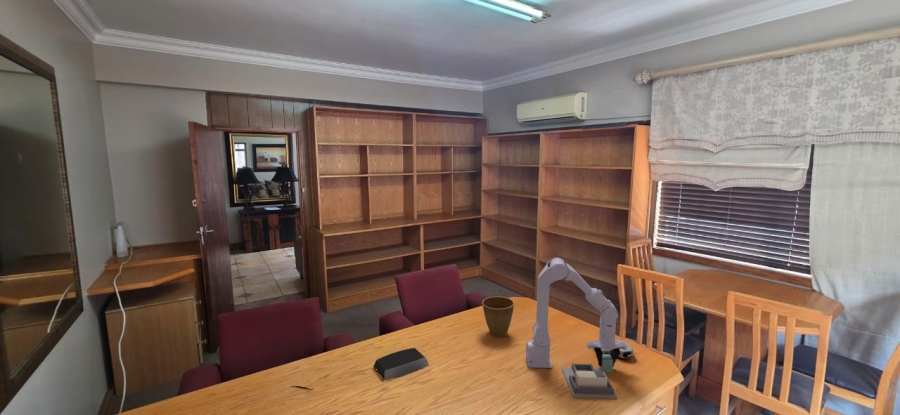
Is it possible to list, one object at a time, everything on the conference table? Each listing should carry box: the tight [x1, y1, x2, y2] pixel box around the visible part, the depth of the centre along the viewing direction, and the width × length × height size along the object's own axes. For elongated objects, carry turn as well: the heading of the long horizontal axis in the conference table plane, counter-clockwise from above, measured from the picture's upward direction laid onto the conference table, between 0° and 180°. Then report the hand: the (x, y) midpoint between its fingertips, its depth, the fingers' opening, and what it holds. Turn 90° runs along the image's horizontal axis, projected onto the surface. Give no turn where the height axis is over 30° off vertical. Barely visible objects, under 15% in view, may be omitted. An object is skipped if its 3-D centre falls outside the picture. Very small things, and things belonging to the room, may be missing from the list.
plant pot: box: [481, 296, 515, 339], centre depth 174 cm, size 15×15×16 cm
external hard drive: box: [373, 347, 429, 381], centre depth 149 cm, size 13×19×4 cm
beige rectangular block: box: [575, 371, 608, 388], centre depth 132 cm, size 10×4×5 cm, turn 86°
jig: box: [561, 362, 618, 400], centre depth 136 cm, size 15×17×3 cm
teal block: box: [598, 354, 614, 373], centre depth 145 cm, size 4×4×5 cm
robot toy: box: [601, 338, 638, 359], centre depth 156 cm, size 12×4×15 cm
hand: (605, 365), depth 145 cm, fingers closed on teal block, 4 cm apart
